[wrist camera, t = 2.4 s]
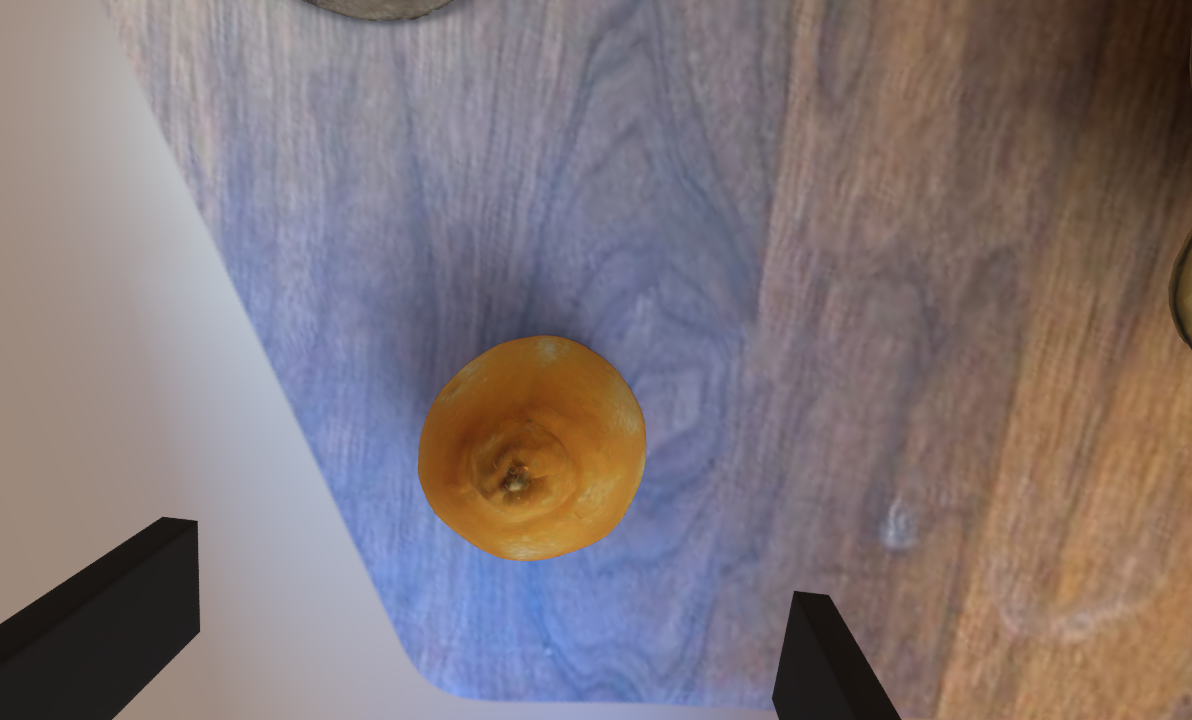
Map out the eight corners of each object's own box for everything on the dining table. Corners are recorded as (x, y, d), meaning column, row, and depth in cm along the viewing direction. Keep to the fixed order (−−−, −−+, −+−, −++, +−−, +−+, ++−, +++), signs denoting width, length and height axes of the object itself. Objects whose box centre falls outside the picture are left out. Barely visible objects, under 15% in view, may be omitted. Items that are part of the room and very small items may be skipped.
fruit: (503, 258, 23) (415, 422, 17) (697, 356, 24) (677, 539, 18) (443, 389, 28) (361, 547, 22) (603, 463, 30) (566, 629, 24)
